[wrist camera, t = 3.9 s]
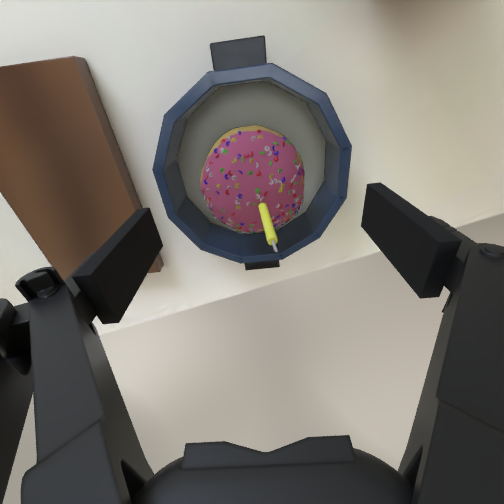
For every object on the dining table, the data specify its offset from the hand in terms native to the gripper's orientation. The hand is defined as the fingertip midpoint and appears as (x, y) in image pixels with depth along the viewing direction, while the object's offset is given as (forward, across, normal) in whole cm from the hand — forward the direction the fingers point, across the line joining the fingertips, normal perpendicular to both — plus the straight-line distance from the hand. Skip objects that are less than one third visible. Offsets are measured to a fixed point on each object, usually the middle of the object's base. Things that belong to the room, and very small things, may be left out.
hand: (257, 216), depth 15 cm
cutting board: (+10, -18, 0) cm, 21 cm away
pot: (+10, 0, 0) cm, 11 cm away
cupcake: (+11, 0, 0) cm, 11 cm away
